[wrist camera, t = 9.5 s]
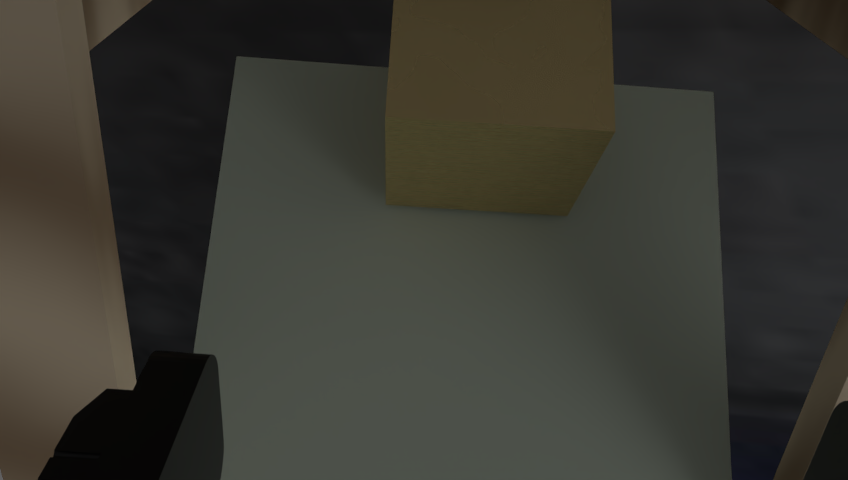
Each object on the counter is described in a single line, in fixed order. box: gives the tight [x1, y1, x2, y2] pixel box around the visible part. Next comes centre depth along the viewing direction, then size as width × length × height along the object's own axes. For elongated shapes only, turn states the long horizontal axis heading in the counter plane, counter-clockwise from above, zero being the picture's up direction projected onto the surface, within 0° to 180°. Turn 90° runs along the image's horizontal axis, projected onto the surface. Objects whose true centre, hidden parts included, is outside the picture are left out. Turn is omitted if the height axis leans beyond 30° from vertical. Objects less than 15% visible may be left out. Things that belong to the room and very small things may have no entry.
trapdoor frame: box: [0, 0, 848, 480], centre depth 25 cm, size 26×21×14 cm
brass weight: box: [385, 0, 616, 216], centre depth 21 cm, size 5×5×5 cm
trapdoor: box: [193, 56, 732, 480], centre depth 22 cm, size 20×14×4 cm
